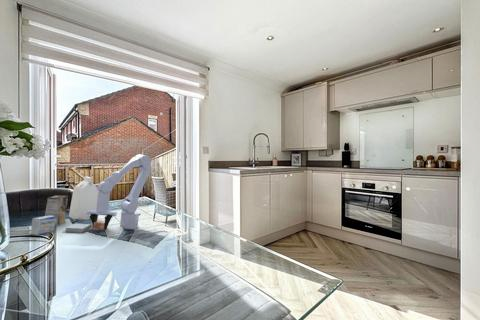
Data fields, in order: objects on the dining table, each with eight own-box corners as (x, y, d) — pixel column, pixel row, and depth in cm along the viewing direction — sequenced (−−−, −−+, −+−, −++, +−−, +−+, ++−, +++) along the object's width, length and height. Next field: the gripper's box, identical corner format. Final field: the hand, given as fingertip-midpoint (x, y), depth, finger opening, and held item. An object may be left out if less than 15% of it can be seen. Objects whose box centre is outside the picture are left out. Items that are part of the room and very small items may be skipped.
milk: (97, 218, 149) (102, 178, 149) (77, 220, 139) (82, 178, 140) (88, 214, 155) (92, 176, 156) (68, 216, 146) (73, 175, 146)
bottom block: (92, 231, 126) (93, 227, 126) (83, 237, 116) (83, 233, 116) (72, 230, 125) (73, 226, 125) (61, 236, 115) (61, 232, 115)
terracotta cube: (106, 229, 129) (107, 220, 129) (102, 232, 124) (103, 223, 124) (96, 229, 128) (98, 220, 128) (92, 232, 123) (93, 222, 123)
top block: (90, 228, 125) (90, 224, 125) (82, 232, 117) (82, 228, 117) (74, 227, 124) (75, 223, 124) (65, 231, 116) (65, 227, 116)
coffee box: (52, 223, 130) (56, 194, 131) (65, 223, 132) (68, 195, 132) (43, 227, 122) (46, 197, 122) (57, 228, 123) (60, 198, 123)
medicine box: (37, 237, 108) (39, 219, 108) (29, 236, 109) (32, 217, 109) (54, 233, 116) (56, 216, 116) (46, 231, 117) (48, 214, 117)
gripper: (84, 203, 121) (81, 229, 121) (114, 205, 123) (111, 231, 123) (91, 201, 128) (88, 225, 128) (119, 203, 130) (116, 227, 130)
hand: (100, 228), depth 126 cm, fingers closed on terracotta cube, 5 cm apart
